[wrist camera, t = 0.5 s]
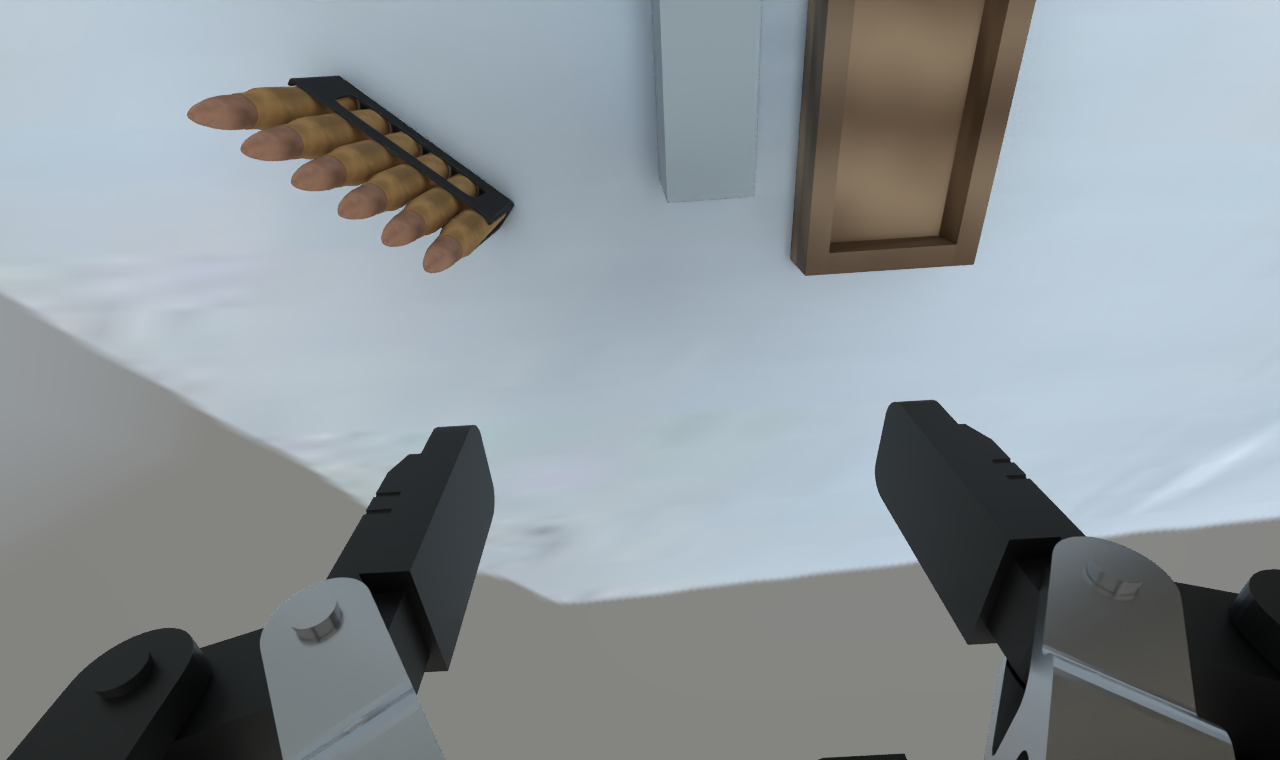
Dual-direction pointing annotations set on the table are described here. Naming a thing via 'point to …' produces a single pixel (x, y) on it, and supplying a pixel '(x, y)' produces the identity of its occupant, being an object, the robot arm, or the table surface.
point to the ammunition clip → (364, 162)
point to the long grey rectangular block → (706, 96)
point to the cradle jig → (901, 130)
